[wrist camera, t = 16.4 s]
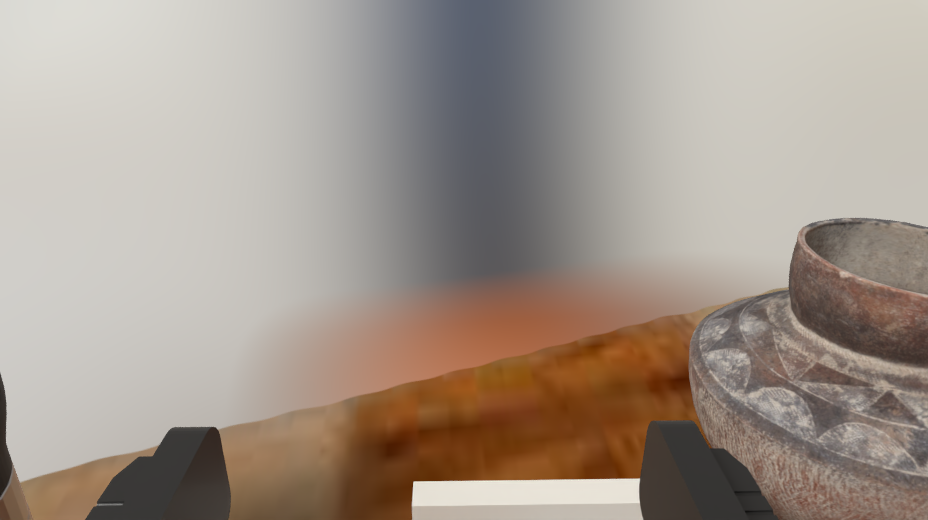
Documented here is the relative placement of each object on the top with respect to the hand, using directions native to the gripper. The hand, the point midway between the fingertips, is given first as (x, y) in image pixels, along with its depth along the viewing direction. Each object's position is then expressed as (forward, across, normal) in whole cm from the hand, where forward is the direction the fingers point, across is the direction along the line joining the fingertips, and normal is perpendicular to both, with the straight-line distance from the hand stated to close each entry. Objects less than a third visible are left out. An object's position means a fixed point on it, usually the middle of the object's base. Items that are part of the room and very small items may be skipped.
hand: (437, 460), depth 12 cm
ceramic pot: (+29, +31, -32) cm, 53 cm away
